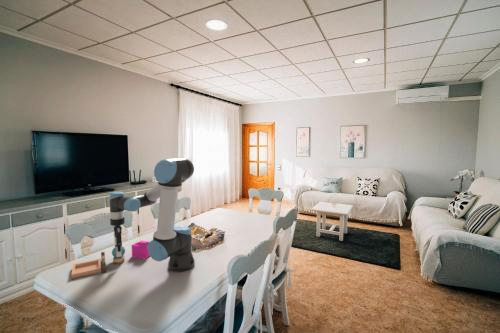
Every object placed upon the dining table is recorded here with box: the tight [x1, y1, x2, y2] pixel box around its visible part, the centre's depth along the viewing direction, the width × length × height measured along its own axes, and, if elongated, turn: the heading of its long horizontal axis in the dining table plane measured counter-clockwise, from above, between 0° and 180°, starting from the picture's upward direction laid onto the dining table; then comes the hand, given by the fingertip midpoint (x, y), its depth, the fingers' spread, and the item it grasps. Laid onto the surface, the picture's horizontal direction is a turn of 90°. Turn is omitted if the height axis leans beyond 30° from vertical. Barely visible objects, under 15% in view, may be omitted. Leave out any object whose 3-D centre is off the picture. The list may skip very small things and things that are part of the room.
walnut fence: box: [100, 251, 107, 274], centre depth 142 cm, size 18×2×5 cm, turn 33°
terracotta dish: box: [71, 258, 102, 280], centre depth 137 cm, size 13×13×2 cm
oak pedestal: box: [112, 254, 125, 265], centre depth 147 cm, size 6×6×3 cm
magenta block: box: [131, 240, 151, 259], centre depth 159 cm, size 12×10×10 cm
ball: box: [111, 245, 126, 258], centre depth 147 cm, size 7×7×7 cm
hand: (118, 251), depth 147 cm, fingers open, 13 cm apart
